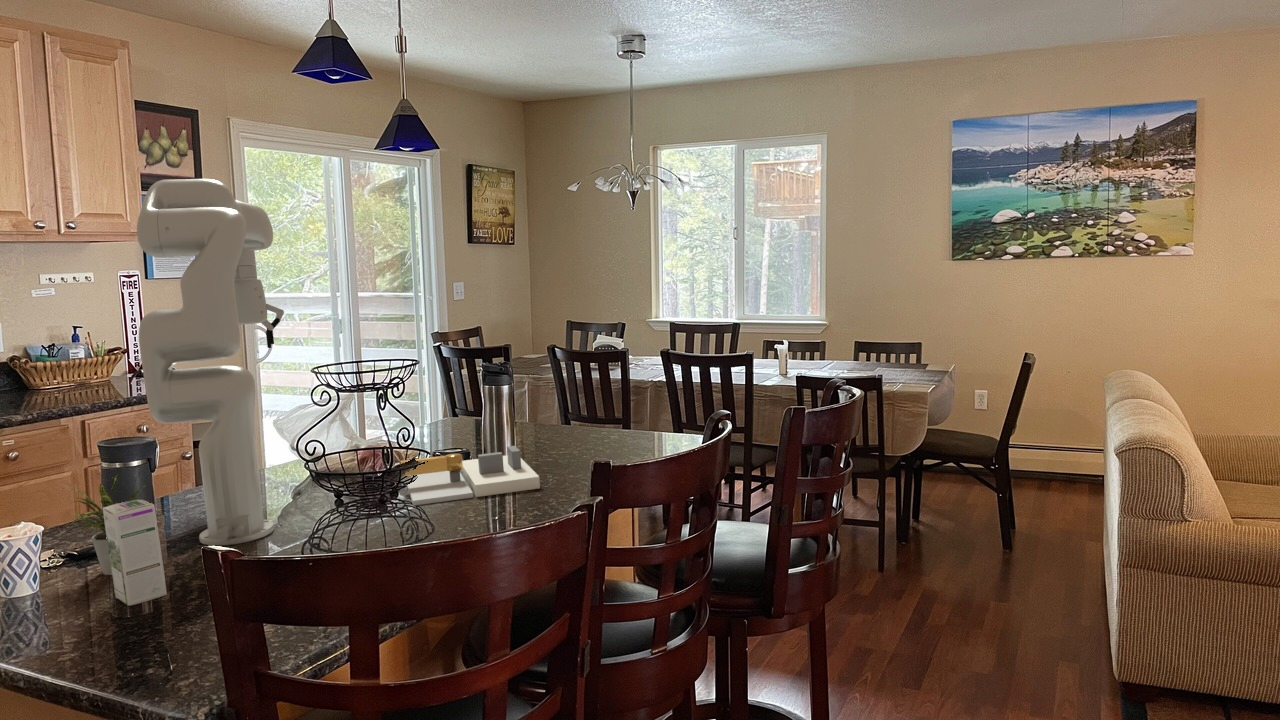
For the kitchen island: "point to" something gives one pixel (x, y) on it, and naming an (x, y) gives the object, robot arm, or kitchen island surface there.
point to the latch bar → (437, 464)
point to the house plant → (99, 526)
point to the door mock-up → (476, 479)
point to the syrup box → (134, 551)
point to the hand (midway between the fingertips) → (246, 349)
